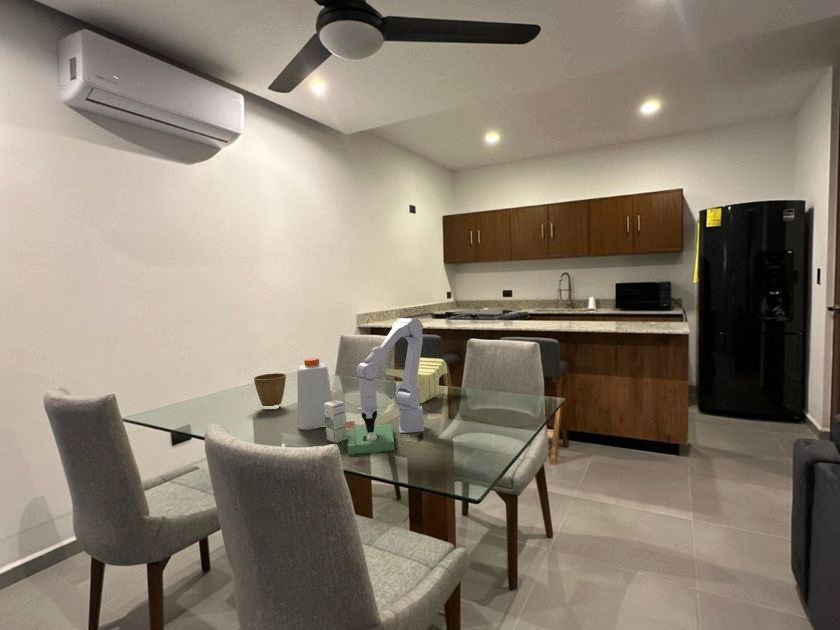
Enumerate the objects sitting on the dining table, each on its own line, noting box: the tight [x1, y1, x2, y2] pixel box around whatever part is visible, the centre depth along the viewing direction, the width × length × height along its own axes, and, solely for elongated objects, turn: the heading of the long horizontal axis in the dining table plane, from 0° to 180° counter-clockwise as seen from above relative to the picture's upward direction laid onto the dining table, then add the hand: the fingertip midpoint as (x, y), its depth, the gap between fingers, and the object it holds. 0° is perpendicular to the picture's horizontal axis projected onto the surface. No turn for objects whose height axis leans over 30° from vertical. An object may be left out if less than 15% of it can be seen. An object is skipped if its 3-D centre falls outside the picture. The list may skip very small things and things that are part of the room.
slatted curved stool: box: [385, 357, 448, 404], centre depth 219 cm, size 30×16×18 cm, turn 147°
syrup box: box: [324, 400, 348, 444], centre depth 168 cm, size 6×6×14 cm
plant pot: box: [253, 372, 287, 407], centre depth 218 cm, size 15×15×16 cm
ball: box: [367, 434, 378, 441], centre depth 161 cm, size 4×4×4 cm
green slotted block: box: [344, 420, 396, 456], centre depth 163 cm, size 17×20×11 cm
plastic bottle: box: [297, 357, 333, 431], centre depth 188 cm, size 15×15×28 cm
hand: (370, 431), depth 163 cm, fingers closed
